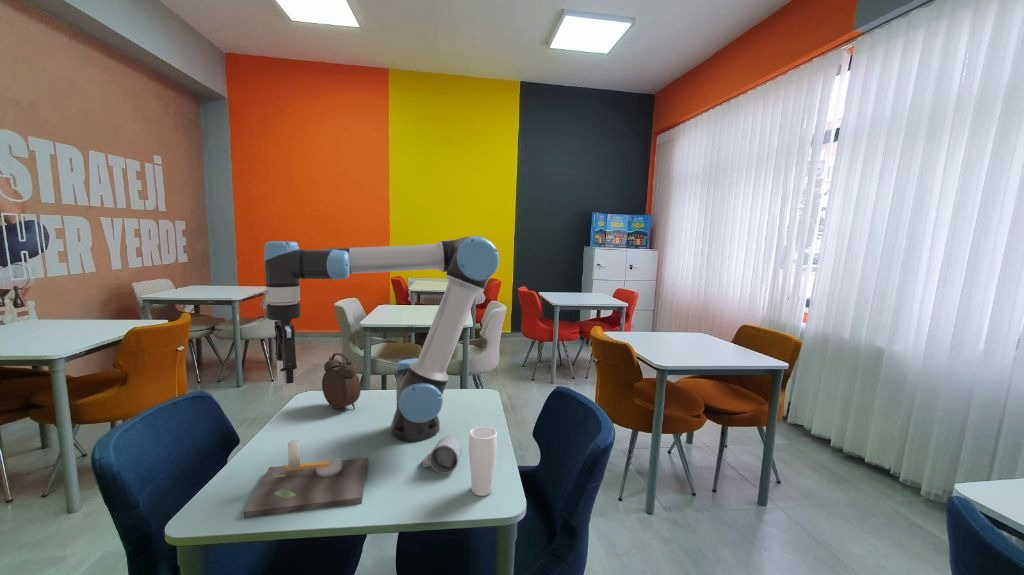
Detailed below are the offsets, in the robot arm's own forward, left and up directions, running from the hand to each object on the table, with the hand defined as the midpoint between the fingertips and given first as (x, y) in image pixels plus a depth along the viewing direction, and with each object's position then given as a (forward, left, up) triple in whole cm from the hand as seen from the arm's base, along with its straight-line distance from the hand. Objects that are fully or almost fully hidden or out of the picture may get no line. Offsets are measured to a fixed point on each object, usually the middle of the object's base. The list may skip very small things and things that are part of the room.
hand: (286, 389), depth 107 cm
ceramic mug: (-39, +8, -22) cm, 46 cm away
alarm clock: (-8, -38, -22) cm, 44 cm away
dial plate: (-8, +11, -21) cm, 25 cm away
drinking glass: (-48, +21, -22) cm, 57 cm away
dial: (-7, +7, -20) cm, 22 cm away
